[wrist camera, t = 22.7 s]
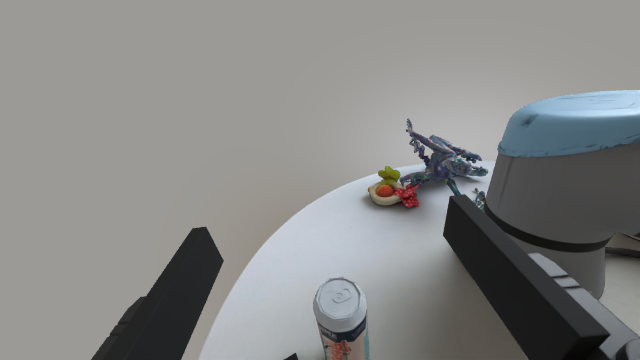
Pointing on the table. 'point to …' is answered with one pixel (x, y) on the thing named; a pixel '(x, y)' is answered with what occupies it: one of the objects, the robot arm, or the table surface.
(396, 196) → the bird rattle
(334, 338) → the beer can
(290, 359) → the fork
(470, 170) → the figurine
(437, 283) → the table surface
